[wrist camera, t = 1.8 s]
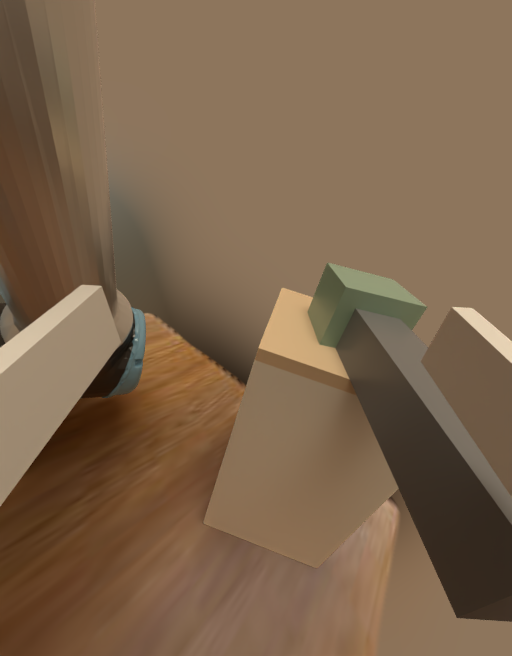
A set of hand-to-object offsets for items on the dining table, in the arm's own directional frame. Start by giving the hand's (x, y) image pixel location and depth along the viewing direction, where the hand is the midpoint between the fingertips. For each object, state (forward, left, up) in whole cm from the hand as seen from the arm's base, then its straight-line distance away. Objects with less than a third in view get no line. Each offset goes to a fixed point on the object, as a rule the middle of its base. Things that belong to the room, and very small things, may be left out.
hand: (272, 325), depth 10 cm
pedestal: (-5, +15, -36) cm, 40 cm away
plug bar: (+2, +11, -6) cm, 13 cm away
